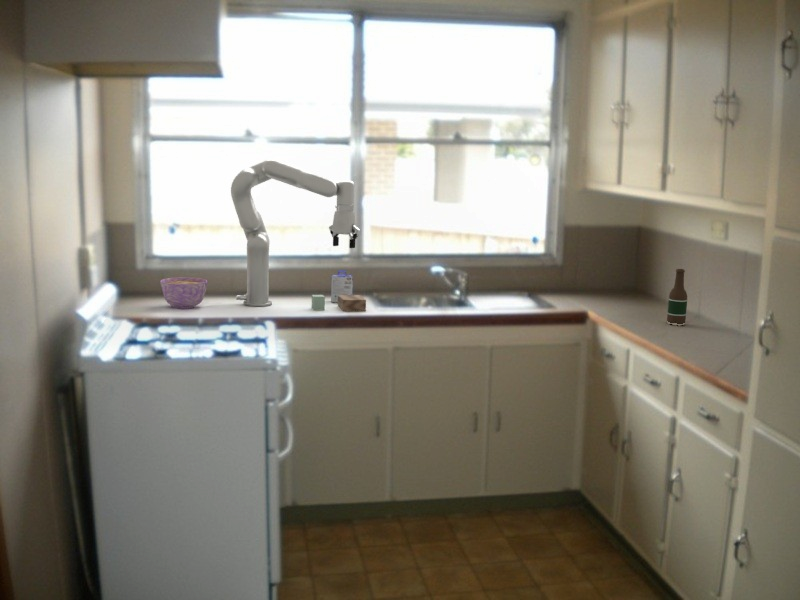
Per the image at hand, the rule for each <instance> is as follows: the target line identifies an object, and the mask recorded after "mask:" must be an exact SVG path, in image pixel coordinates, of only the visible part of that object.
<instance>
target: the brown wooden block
mask: <svg viewBox="0 0 800 600" xmlns="http://www.w3.org/2000/svg"><path fill="white" fill-rule="evenodd" d="M337 308H339V309H340V310H341V311H342V312H366V311H367V300H366V299H365V298H364V297H363V296H362V295H360V294H352V295H338V302H337Z"/></svg>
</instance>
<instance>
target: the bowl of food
mask: <svg viewBox="0 0 800 600" xmlns="http://www.w3.org/2000/svg"><path fill="white" fill-rule="evenodd" d="M159 282H160V287H161V290H162V294H163V298H164V300H165V302H166V303H167V304H169V305H170V306H172V307H174V308H175V309H182V310H185V309H194V308H195V306H197V305H199V304H201V303H202V302H203V300H204V298H205V295H206V291H207V285H208V283H209V281H208V280H207V279H205V278H201V277H189V276H188V277H186V276H185V277H178V276H177V277H169V278H163V279H161V280H160V281H159Z"/></svg>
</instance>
